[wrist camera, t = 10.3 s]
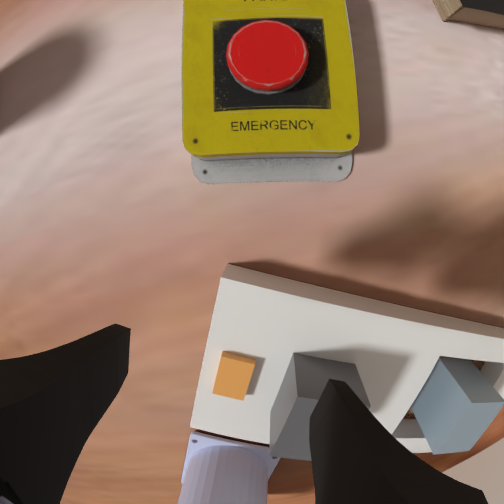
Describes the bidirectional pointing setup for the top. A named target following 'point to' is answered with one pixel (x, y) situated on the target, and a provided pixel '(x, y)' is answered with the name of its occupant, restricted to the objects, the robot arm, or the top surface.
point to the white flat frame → (325, 351)
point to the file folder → (472, 11)
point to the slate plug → (455, 406)
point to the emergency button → (268, 90)
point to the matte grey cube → (305, 402)
